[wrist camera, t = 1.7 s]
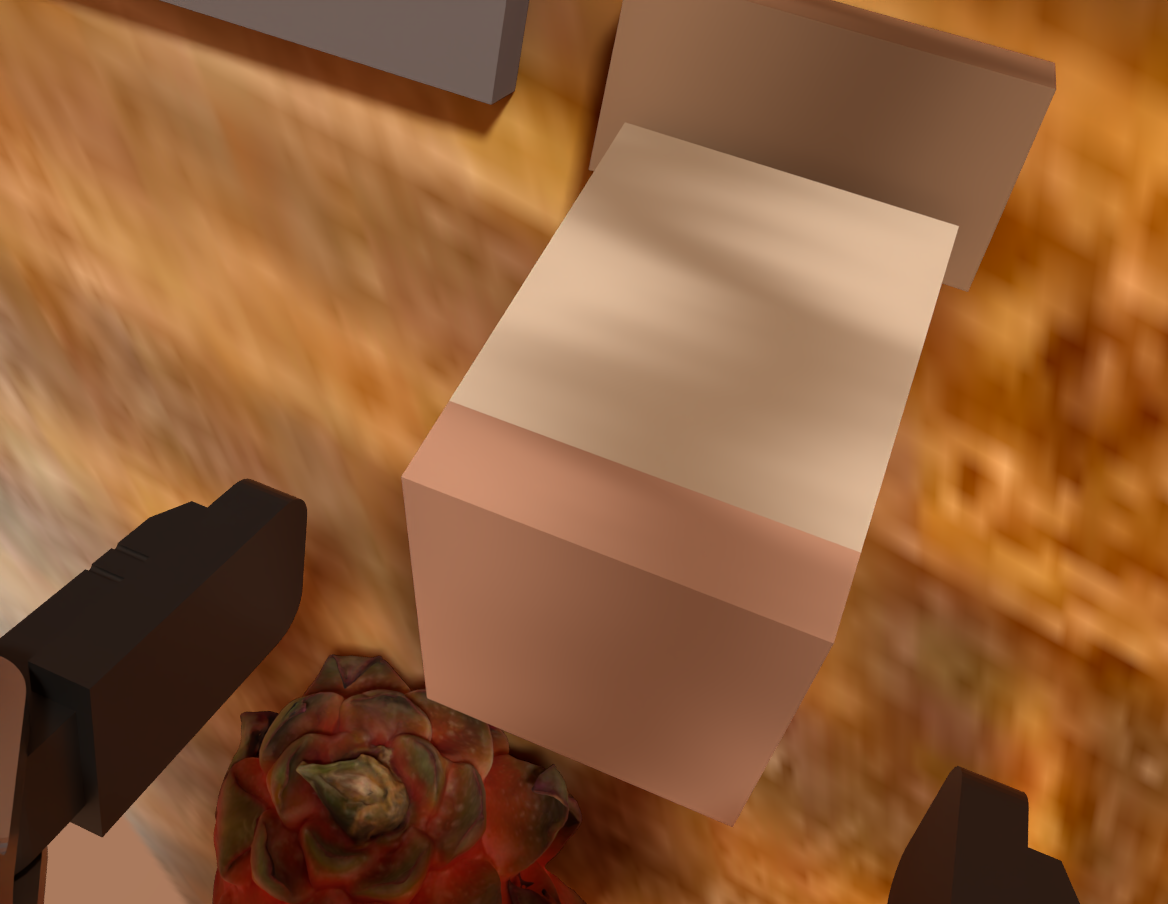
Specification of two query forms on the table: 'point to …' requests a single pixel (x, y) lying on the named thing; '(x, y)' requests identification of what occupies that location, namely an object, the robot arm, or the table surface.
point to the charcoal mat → (398, 36)
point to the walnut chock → (836, 103)
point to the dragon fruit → (385, 803)
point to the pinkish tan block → (670, 466)
